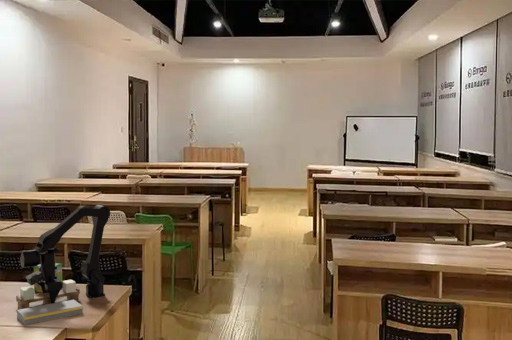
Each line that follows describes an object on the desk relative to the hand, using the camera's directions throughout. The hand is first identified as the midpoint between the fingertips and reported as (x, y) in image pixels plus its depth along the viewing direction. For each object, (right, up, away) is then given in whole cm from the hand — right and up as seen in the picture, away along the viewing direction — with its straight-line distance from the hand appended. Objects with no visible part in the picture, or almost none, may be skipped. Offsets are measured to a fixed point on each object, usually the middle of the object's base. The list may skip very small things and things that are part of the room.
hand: (48, 301), depth 229 cm
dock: (+6, -2, -14) cm, 16 cm away
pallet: (0, -1, 0) cm, 1 cm away
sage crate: (-7, +2, -5) cm, 9 cm away
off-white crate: (+7, +3, +5) cm, 9 cm away
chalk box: (-7, 0, +20) cm, 21 cm away
